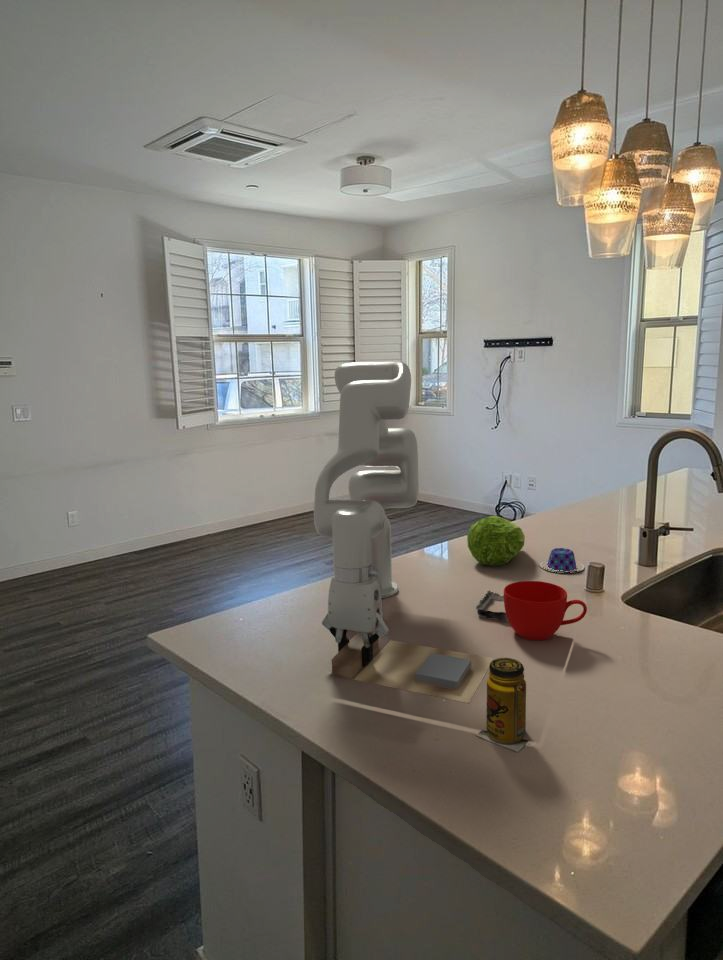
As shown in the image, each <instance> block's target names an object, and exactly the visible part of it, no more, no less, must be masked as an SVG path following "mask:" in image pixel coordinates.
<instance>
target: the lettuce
mask: <svg viewBox="0 0 723 960" xmlns="http://www.w3.org/2000/svg"><path fill="white" fill-rule="evenodd" d="M466 537H467V538H466V539H467V547H468V550H469V551H470V553H471V555H472V557H473V558H474V559H475V560H476V561H477V563H478V564H479V565H486V566H493V567H494V566H498V567H499V566H501V565H505V564H507V563H509V562H510V561H511V560H512V559H514V558H515V557H516V556H517V555H519V553H520V552H521V550H522V549H523V547H524V546H525V538H526V535H525V534H524V531H523V530H522V528H521V527H520V526H518V525H516V524H515V523H513V522H512V521H509V519H508V520H507V519H506V518H503V517H500V516H497V515H490V516H486V517H484V518H481V519H479V520H478V521H475V522H474V523H473V524H472V525H470V528H469V531H468V533H467V535H466Z"/></svg>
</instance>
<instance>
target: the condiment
mask: <svg viewBox="0 0 723 960" xmlns="http://www.w3.org/2000/svg"><path fill="white" fill-rule="evenodd" d="M488 670H489V671H488V678H486V679H487V680H486V730H483V729H482V730H480V731H479V732H478V733H477V734H476V736H477V737H480V738H482V739H483V740H486V741H488V742H490V743H493V744H495V745H498V746H501V747H504V748H507V749H510V750H511V751H515V752H517V753H518V752H520V751H521V749H523V748H524V747H525V745H527V744H528V743H529V741H530V740H529V739H524V738H523V737H524V736H525V734H526V731H527V728H526V724H527V720H526V719H527V718H526V717H527V716H526V715H527V713H526V712H527V711H526V710H527V682H526V680H525V673H524V671H525V667H524V665H523V663H521V662H520V661H519V660H517V659H514V658H510V657H497V658H494V660H493V661H492V662H491V663H490V666H489V669H488Z"/></svg>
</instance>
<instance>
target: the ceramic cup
mask: <svg viewBox="0 0 723 960" xmlns="http://www.w3.org/2000/svg"><path fill="white" fill-rule="evenodd" d="M503 596H504V601H503V605H504V607H503V608H504V611H505V613H506V616H507V619H508V621H509V622H508V623H509V625H510V627H511V628H512V630H513V631H514V632H515V633H516V634H517V635H518V636H519V637H521V638H523V639H526V640H530V641H544V640H548V639H550V638H551V637H552V636H553V635H554V634H555V633H557V632H558V630H559V629H560V628H561V626H565V625H571V624H576V623H578V622H579V621H581V620H582V619H584V618H585V616H586V614H587V613H588V612H587V610H588V607H587V605H586V603H585V602H584V601H583V600H581V599H572V600H569V601H568V600H567V599H568V593H567V590H566V589H564V587H562V586H560V585H557V584H555V583H550V582H546V581H539V580H524V581H523V580H521V581H520V580H519V581H516V582H511V583H509V584H507V585H505V587H504V589H503ZM575 604H576V605H581V607H582V608H583V611H582V612H581V614H579V616H577V617H573V618H571V619H567V620H566V619H565V620H564V618H565V616H566V615H565V614H566V612H567V610H568V609H569V608H570V607H571V606H572V605H575Z"/></svg>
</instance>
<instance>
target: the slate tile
mask: <svg viewBox="0 0 723 960" xmlns="http://www.w3.org/2000/svg"><path fill="white" fill-rule="evenodd" d="M470 668H471V660H468V659H463V658H457V657H451V656H446V655H440V654H435V653H431V654H430V655H429V656H428V657H427V659H426V660H425V661H424V662H423V664H422V665H421V666H420V668H419V669H418V670H417V671H416V673H415V681H416V682H417V683H422V684H427V685H432V686H437V687H442V688H447V689H452V690H457V689H458V688H459V686H460V684H461V683H462V681H463V679H464V678H465V676H466V675H467V673H468V671H469V670H470Z"/></svg>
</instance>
